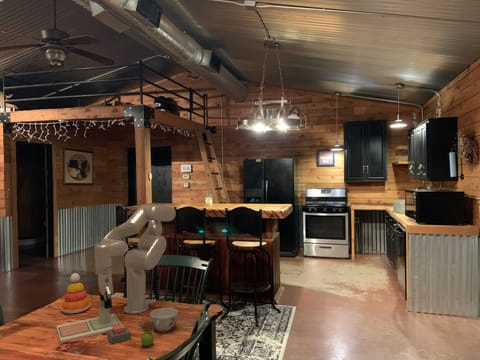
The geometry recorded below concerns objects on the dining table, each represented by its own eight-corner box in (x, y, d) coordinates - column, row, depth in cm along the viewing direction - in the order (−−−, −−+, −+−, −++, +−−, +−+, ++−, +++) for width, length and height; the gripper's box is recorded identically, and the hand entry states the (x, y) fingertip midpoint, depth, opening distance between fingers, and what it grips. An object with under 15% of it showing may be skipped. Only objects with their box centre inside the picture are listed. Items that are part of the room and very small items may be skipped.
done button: (122, 330, 157) (122, 323, 157) (125, 334, 153) (125, 327, 153) (112, 332, 154) (112, 326, 154) (114, 336, 151) (114, 329, 151)
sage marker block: (107, 319, 170) (107, 299, 170) (109, 322, 167) (109, 301, 167) (99, 321, 168) (98, 300, 168) (100, 324, 165) (100, 303, 165)
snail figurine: (139, 342, 150) (139, 314, 149) (155, 342, 150) (155, 313, 150) (137, 348, 144) (137, 319, 144) (153, 348, 145) (152, 319, 145)
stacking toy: (95, 309, 187) (95, 272, 187) (68, 317, 177) (68, 278, 176) (83, 303, 197) (82, 268, 196) (56, 310, 186) (56, 273, 186)
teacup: (157, 322, 170) (156, 306, 170) (181, 324, 168) (181, 307, 168) (143, 336, 155) (143, 318, 155) (170, 338, 153) (169, 320, 153)
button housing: (125, 332, 159) (125, 325, 159) (130, 339, 153) (130, 332, 153) (107, 336, 155) (107, 330, 155) (111, 344, 148) (111, 337, 148)
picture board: (113, 315, 179) (113, 313, 179) (123, 328, 164) (123, 325, 164) (56, 327, 165) (56, 325, 165) (60, 343, 150) (60, 340, 150)
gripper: (116, 272, 162) (118, 308, 163) (108, 263, 177) (110, 297, 178) (99, 275, 158) (101, 313, 159) (92, 266, 173) (94, 300, 174)
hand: (106, 304), depth 169 cm, fingers open, 9 cm apart
